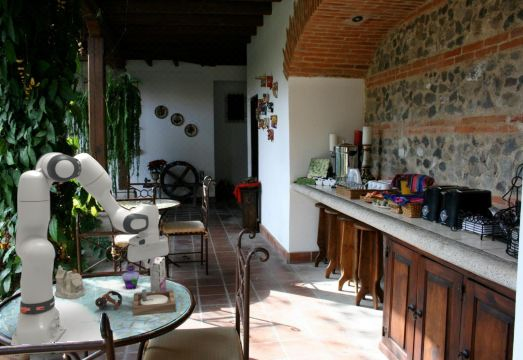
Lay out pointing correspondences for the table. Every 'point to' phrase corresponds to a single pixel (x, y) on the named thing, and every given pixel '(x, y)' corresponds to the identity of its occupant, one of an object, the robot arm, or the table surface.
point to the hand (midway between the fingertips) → (148, 268)
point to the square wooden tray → (154, 308)
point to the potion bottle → (130, 277)
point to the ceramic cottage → (69, 285)
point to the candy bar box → (158, 275)
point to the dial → (152, 299)
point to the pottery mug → (109, 300)
